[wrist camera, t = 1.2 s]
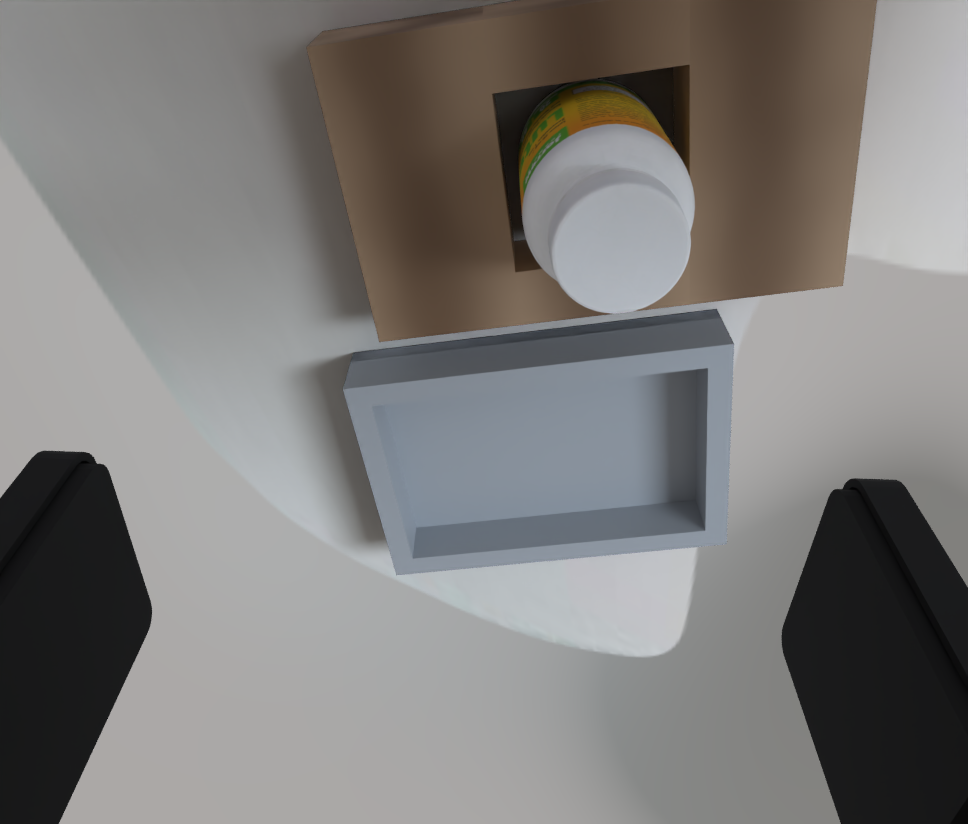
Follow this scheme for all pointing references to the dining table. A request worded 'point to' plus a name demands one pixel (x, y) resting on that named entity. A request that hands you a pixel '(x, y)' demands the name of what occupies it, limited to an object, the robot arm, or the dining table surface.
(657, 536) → the parts tray
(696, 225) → the socket holder
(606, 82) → the supplement bottle
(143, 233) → the dining table surface
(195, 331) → the dining table surface
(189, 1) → the dining table surface
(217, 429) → the dining table surface
